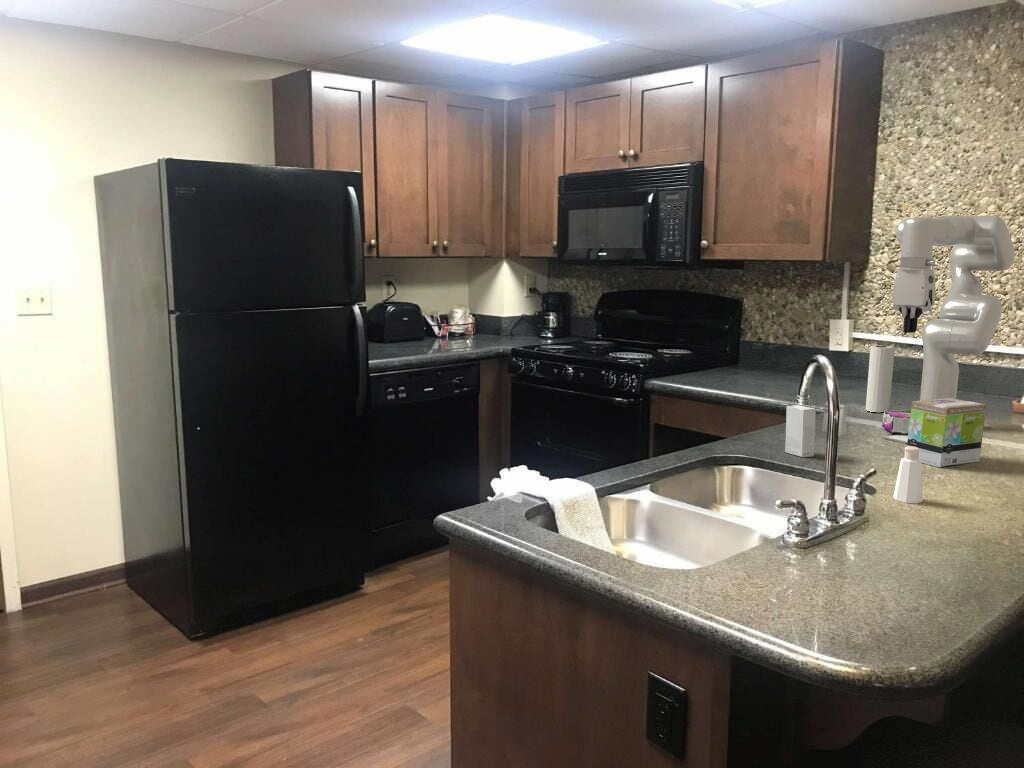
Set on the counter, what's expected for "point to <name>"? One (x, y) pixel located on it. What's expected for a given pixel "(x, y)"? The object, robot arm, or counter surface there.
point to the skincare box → (800, 430)
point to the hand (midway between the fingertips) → (909, 332)
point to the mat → (898, 438)
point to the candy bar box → (896, 422)
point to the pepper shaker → (909, 477)
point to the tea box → (947, 431)
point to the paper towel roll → (879, 378)
